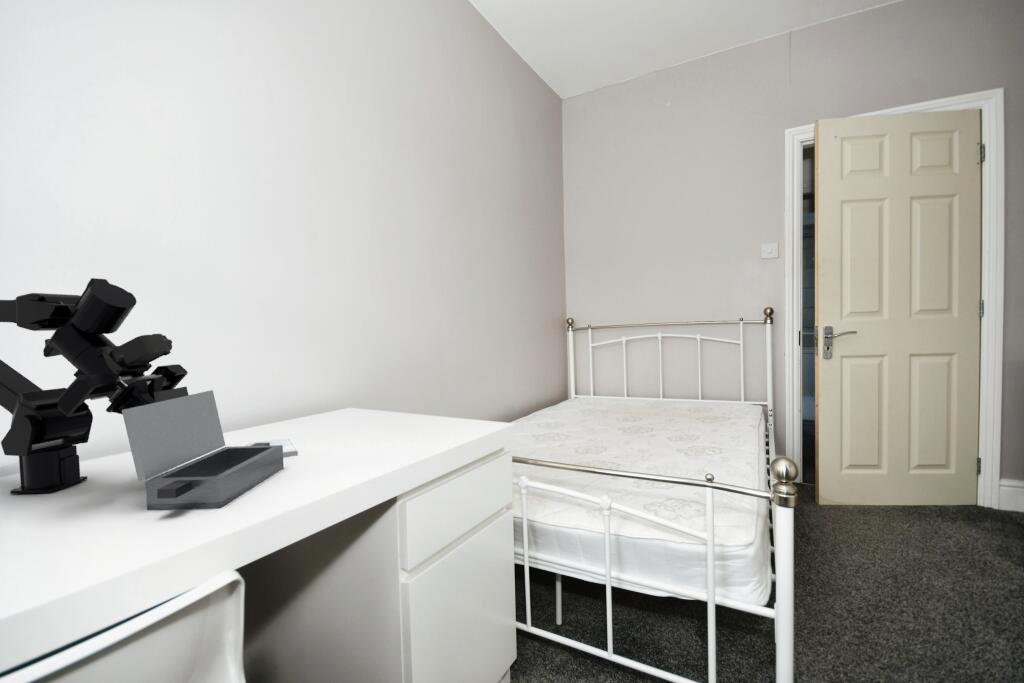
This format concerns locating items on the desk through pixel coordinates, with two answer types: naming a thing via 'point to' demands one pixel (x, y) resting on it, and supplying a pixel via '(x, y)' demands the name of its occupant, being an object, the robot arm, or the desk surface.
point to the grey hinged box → (214, 477)
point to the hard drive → (287, 446)
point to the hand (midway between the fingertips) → (170, 423)
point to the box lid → (172, 430)
